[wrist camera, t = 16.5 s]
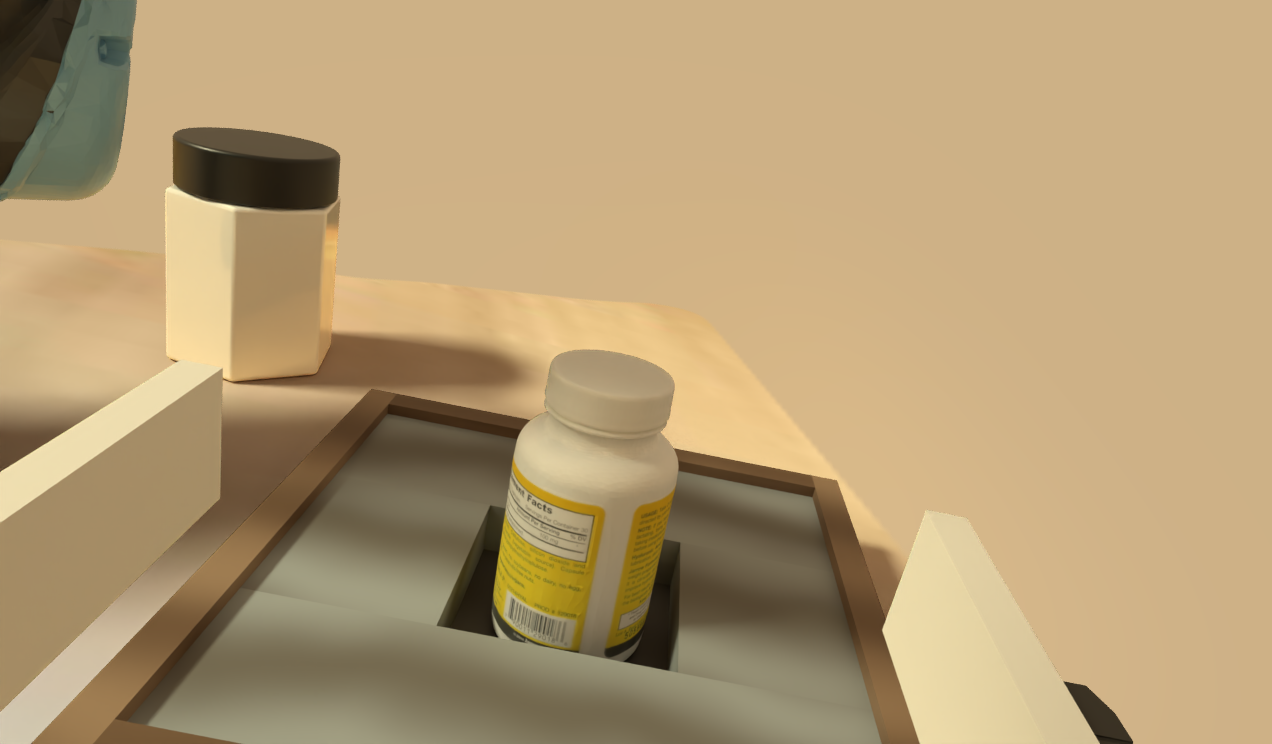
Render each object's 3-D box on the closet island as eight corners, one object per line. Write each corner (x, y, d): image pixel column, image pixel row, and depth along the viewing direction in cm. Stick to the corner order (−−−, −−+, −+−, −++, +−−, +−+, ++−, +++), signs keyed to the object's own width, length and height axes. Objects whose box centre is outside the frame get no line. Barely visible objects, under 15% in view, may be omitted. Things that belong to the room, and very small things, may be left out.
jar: (306, 324, 55) (316, 134, 51) (356, 373, 49) (372, 165, 45) (149, 332, 49) (146, 120, 45) (185, 388, 44) (186, 152, 40)
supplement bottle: (617, 580, 34) (668, 347, 30) (659, 677, 29) (725, 413, 25) (478, 581, 32) (516, 334, 28) (499, 685, 27) (547, 402, 24)
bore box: (946, 1035, 20) (995, 933, 19) (36, 861, 20) (26, 747, 19) (817, 544, 41) (836, 480, 40) (365, 455, 41) (371, 388, 40)
